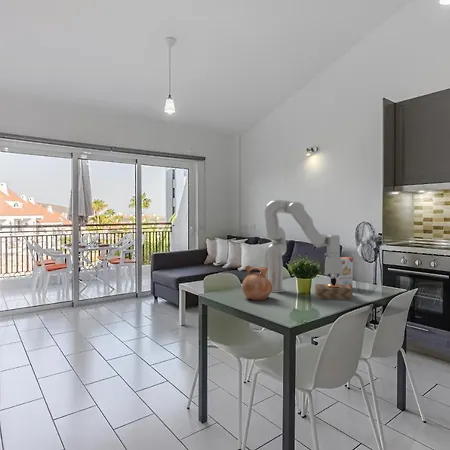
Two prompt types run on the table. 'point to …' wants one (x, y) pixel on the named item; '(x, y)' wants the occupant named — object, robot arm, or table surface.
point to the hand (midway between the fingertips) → (333, 284)
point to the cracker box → (346, 272)
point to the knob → (332, 286)
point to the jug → (256, 284)
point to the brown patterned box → (333, 292)
